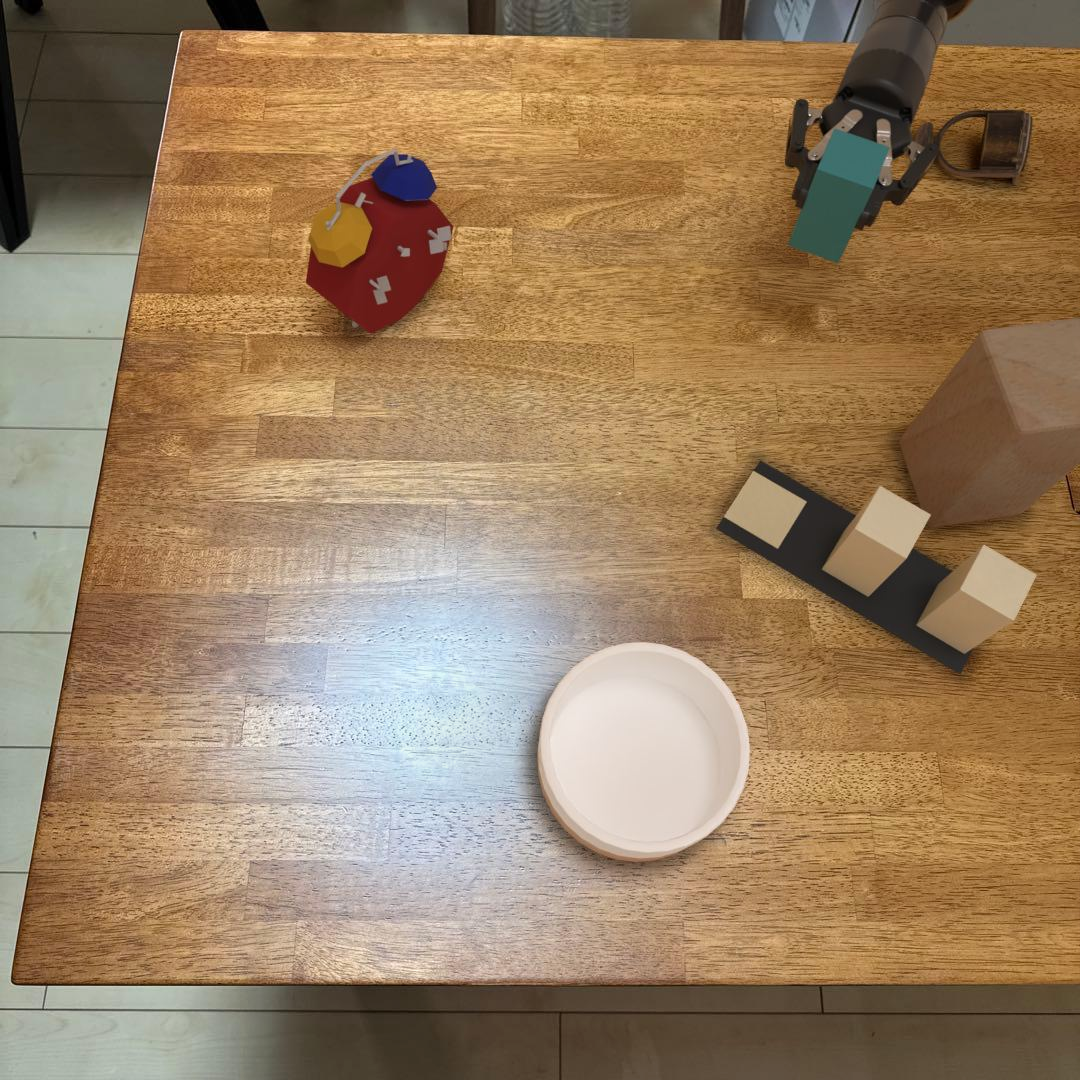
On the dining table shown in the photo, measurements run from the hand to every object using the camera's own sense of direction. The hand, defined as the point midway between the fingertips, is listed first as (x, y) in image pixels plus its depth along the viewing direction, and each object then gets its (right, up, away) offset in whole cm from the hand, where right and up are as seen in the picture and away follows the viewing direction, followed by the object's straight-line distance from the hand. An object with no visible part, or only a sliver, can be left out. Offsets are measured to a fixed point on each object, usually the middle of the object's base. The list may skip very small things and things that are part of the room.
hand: (831, 212), depth 90 cm
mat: (+5, -31, +9) cm, 33 cm away
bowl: (-17, -49, +1) cm, 52 cm away
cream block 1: (+5, -31, +8) cm, 32 cm away
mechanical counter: (+24, +15, +29) cm, 41 cm away
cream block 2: (+13, -36, +6) cm, 39 cm away
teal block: (+1, 0, +6) cm, 7 cm away
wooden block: (+16, -23, +13) cm, 31 cm away
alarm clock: (-41, -4, +19) cm, 45 cm away
